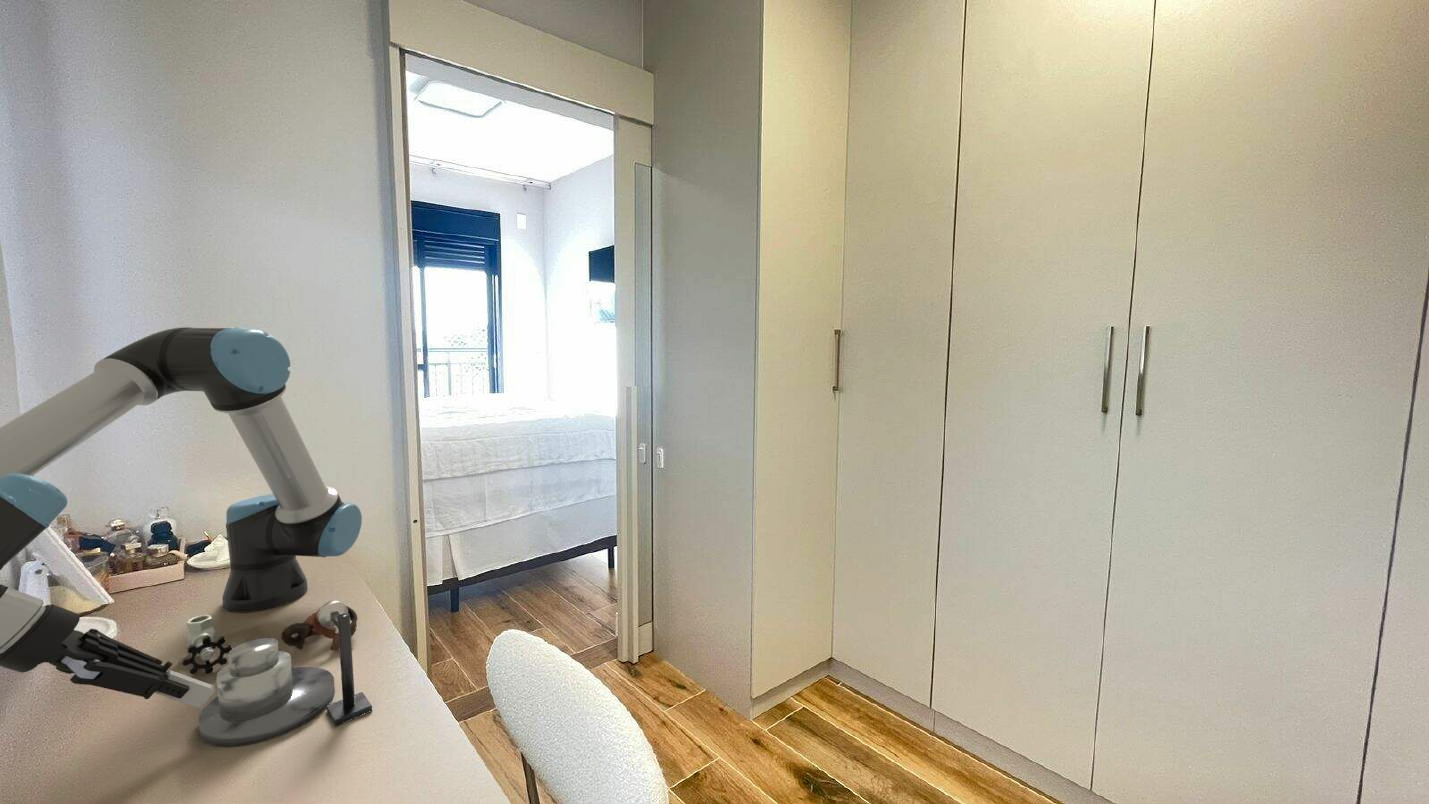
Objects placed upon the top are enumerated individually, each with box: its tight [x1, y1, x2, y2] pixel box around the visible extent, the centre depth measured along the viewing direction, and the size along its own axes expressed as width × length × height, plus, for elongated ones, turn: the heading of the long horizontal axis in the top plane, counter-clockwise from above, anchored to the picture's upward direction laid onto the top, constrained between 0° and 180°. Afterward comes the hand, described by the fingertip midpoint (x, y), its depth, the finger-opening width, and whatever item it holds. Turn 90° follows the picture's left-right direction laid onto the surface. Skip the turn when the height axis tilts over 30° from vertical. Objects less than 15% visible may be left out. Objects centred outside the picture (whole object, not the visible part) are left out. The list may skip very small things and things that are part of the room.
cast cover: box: [216, 637, 293, 721], centre depth 89 cm, size 9×9×9 cm
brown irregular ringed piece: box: [280, 605, 358, 652], centre depth 109 cm, size 12×10×8 cm
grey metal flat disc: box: [197, 666, 336, 748], centre depth 91 cm, size 17×17×2 cm
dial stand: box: [318, 599, 373, 727], centre depth 91 cm, size 10×5×16 cm, turn 47°
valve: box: [181, 614, 233, 675], centre depth 104 cm, size 7×7×12 cm
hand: (207, 696), depth 85 cm, fingers closed
